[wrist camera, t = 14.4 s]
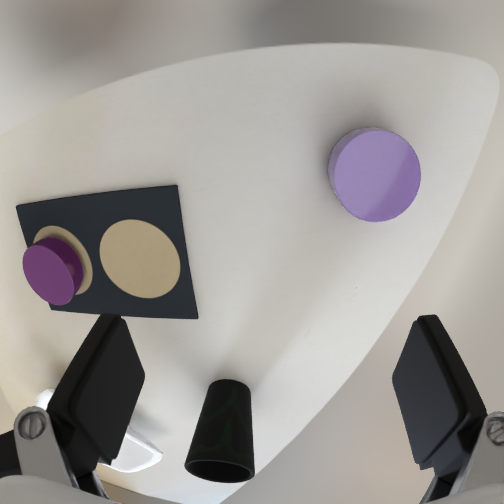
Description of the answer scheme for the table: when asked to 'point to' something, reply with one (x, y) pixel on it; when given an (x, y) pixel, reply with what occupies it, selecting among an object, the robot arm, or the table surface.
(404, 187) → the lavender short cylinder
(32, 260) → the purple short cylinder
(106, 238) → the placemat
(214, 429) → the cup
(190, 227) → the table surface
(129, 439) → the bowl
